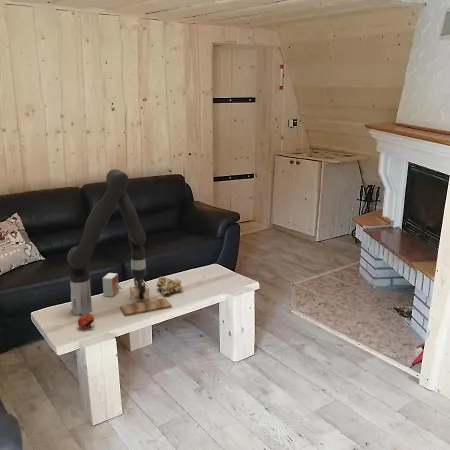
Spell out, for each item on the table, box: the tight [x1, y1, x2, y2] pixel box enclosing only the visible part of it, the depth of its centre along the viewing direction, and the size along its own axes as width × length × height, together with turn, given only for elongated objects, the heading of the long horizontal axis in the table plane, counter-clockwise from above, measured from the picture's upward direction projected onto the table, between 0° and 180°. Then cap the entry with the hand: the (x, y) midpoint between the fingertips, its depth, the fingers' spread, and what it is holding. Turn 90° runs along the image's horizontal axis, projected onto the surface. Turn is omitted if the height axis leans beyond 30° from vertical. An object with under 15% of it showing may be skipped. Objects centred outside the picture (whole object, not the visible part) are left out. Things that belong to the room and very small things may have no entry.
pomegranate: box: [77, 313, 95, 330], centre depth 225 cm, size 7×7×10 cm
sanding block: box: [129, 284, 151, 304], centre depth 255 cm, size 9×5×7 cm, turn 115°
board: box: [119, 297, 172, 317], centre depth 246 cm, size 24×10×1 cm, turn 115°
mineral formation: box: [156, 276, 184, 297], centre depth 267 cm, size 8×13×15 cm
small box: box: [102, 272, 120, 298], centre depth 262 cm, size 8×6×10 cm
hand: (139, 296), depth 256 cm, fingers open, 5 cm apart
